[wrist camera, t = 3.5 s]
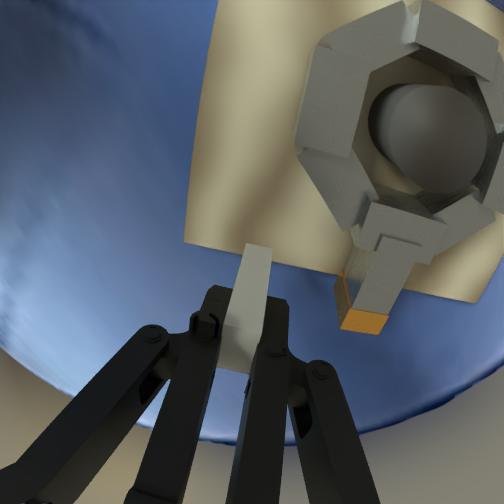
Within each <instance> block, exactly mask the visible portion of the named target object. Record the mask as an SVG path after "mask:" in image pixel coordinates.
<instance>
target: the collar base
mask: <svg viewBox="0 0 504 504" xmlns="http://www.w3.org/2000/svg"><path fill="white" fill-rule="evenodd" d="M399 1H401V0H219V2H218V6H217V11H216V16H215V20H214V25H213V30H212V35H211V40H210V45H209V51H208V56H207V62H206V67H205V73H204V79H203V85H202V91H201V97H200V104H199V110H198V117H197V124H196V131H195V138H194V146H193V154H192V162H191V171H190V179H189V189H188V198H187V208H186V219H185V231H184V242H185V243H190V244H194V245H199V246H203V247H208V248H213V249H217V250H222V251H227V252H231V253H236V254H241V255H243V253H244V250H245V246H246V243H249V244H253V245H258V246H262V247H267V248H272V249H273V253H272V261H273V262H278V263H283V264H288V265H292V266H297V267H302V268H306V269H311V270H316V271H321V272H325V273H330V274H335V275H339V273H340V270H341V269H343V267H344V264H345V262H346V259H347V257H348V254H349V251H350V249H351V246H352V243H353V239H352V236H351V233H350V230H349V229H347V230H345V231H343V232H342V230H341V228H340V227H339V225H338V223H337V221H336V220H335V218H334V216H333V215H332V213H331V211H330V210H329V208H328V206H327V205H326V203H325V201H324V200H323V198H322V196H321V195H320V193H319V191H318V190H317V188H316V187H315V185H314V183H313V182H312V180H311V179H310V177H309V175H308V174H307V172H306V171H305V169H304V168H303V166H302V165H301V163H300V161H299V160H298V158H297V157H296V151H295V144H293V133H292V132H293V127H294V123H295V118H296V114H297V109H298V105H299V100H300V95H301V91H302V86H303V82H304V77H305V73H306V68H307V63H308V59H309V54H310V52H311V51H312V49H313V48H314V46H315V45H317V43H318V42H319V41H320V39H321V38H322V36H324V35H325V34H327V33H329V32H331V31H333V30H335V29H337V28H339V27H341V26H343V25H346V24H348V23H350V22H352V21H354V20H356V19H358V18H360V17H363V16H365V15H367V14H369V13H372V12H374V11H376V10H379V9H381V8H384V7H386V6H388V5H391V4H393V3H396V2H399ZM415 1H417V0H403V2H404V3H405V5H406V6H408V5H410V4H411V3H413V2H415ZM428 1H431V2H433V3H435V4H437V5H439V6H441V7H443V8H445V9H447V10H449V11H451V12H452V13H454V14H456V15H458V16H460V17H462V18H463V19H465V20H467V21H469V22H470V23H472V24H474V25H475V26H477V27H479V28H480V29H482V30H483V31H485V32H487V33H488V34H490V35H491V36H493V37H494V38H496V39H497V40H499V47H498V52H500V54H501V56H502V58H503V61H504V13H503V12H502V11H500V10H499V9H498V8H496V7H495V6H493V5H492V4H490V3H489V2H487V1H486V0H428ZM317 46H318V45H317ZM486 146H487V137H486V129H485V125H484V122H483V119H482V117H481V114H480V112H479V111H478V109H477V107H476V106H475V105H474V103H473V102H472V101H471V100H470V99H469V98H468V97H467V96H465V95H464V94H463V93H461V92H459V91H458V90H456V88H455V86H454V84H453V82H452V80H451V78H450V75H448V74H446V73H444V72H442V71H440V70H438V69H436V68H434V67H432V66H430V65H427V64H425V63H423V62H421V61H418V60H416V59H414V58H411V57H409V56H406V55H405V56H403V57H401V58H399V59H397V60H395V61H393V62H391V63H389V64H386V65H384V66H382V67H380V68H378V69H376V70H374V71H372V72H370V74H369V78H368V83H367V87H366V91H365V95H364V99H363V104H362V108H361V112H360V115H359V119H358V123H357V127H356V131H355V135H354V138H353V142H352V146H351V147H352V148H353V150H354V152H355V154H356V155H357V157H358V159H359V161H360V163H361V164H362V166H363V168H364V170H365V172H366V174H367V176H368V178H369V179H370V181H371V182H372V183H375V184H379V185H382V186H385V187H389V188H392V189H395V190H398V191H402V192H405V193H408V194H411V195H416V194H418V193H420V192H422V191H423V190H427V191H430V192H434V193H448V192H453V191H456V190H458V189H460V188H462V187H464V186H465V185H467V184H468V183H469V182H470V181H471V180H472V179H473V178H474V177H475V176H476V174H477V173H478V171H479V169H480V167H481V166H482V163H483V160H484V157H485V153H486ZM494 214H495V219H496V221H494V222H492V223H491V224H489V225H487V226H486V227H484V228H483V229H481V230H479V231H478V232H476V233H474V234H473V235H471V236H469V237H467V238H466V239H464V240H462V241H461V242H459V243H457V244H455V245H454V246H452V247H450V248H448V249H447V250H445V251H443V252H441V253H439V254H438V255H436V256H435V254H434V256H433V258H432V260H431V262H430V265H428V264H424V263H420V262H416V261H415V263H414V265H413V267H412V269H411V271H410V273H409V275H408V277H407V279H406V281H405V283H404V285H403V287H402V289H407V290H411V291H416V292H421V293H426V294H431V295H436V296H441V297H445V298H450V299H455V300H460V301H465V302H470V303H475V304H476V302H477V301H478V299H479V297H480V296H481V294H482V292H483V291H484V289H485V287H486V286H487V284H488V282H489V280H490V279H491V277H492V275H493V273H494V271H495V269H496V268H497V266H498V264H499V262H500V260H501V258H502V256H503V254H504V214H501V213H499V212H497V211H495V210H494Z"/></svg>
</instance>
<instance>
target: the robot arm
mask: <svg viewBox="0 0 504 504" xmlns="http://www.w3.org/2000/svg"><path fill="white" fill-rule="evenodd" d="M272 253H273V249H272V248H267V247H262V246H258V245H253V244H249V243H246V246H245V250H244V253H243V257H242V260H241V264H240V267H239V271H238V274H237V278H236V281H235V285H234V288H233V289H231V288H226V287H222V286H218V285H213V286H212V287H211V288H210V289H209V290H208V291H207V293H206V296H205V299H204V301H203V304H202V306H201V309H200V311H197V312H195V313H193V314H192V316H191V317H190V324H189V331H187V332H184V333H179V334H168V332H167V330H166V329H164V328H163V327H162V326H159V325H146V326H143V327H142V328H140V329H139V330H138V331H137V332H136V333H135V334H134V335H133V336H132V337H131V338H130V339H129V340H128V341H127V343H126V344H125V345H124V346H123V347H122V348H121V349H120V350H119V351H118V352H117V353H116V354H115V355H114V356H113V357H112V358H111V359H110V360H109V361H108V362H107V363H106V364H105V366H104V367H103V368H102V369H101V370H100V371H99V372H98V373H97V374H96V375H95V376H94V377H93V378H92V379H91V380H90V381H89V382H88V384H87V385H86V386H85V387H84V388H83V389H82V390H81V391H80V392H79V393H78V394H77V395H76V396H75V397H74V399H73V400H72V401H71V402H70V403H69V404H68V405H67V406H66V407H65V408H64V409H63V410H62V412H61V413H60V414H59V415H58V416H57V417H56V418H55V419H54V420H53V421H52V423H50V425H49V426H48V427H47V428H46V429H45V430H44V431H43V432H42V433H41V435H40V436H39V437H38V438H37V439H36V440H35V441H34V442H33V443H32V445H31V446H30V447H29V448H28V449H27V450H26V451H25V452H24V454H23V455H22V456H21V457H20V458H19V459H18V461H16V463H13V464H11V465H9V466H7V467H5V468H3V469H1V470H0V504H73V503H74V502H75V501H76V500H77V499H78V497H79V496H80V495H81V493H82V492H83V491H84V490H85V488H86V487H87V486H88V485H89V483H90V482H91V481H92V479H93V478H94V477H95V475H96V474H97V473H98V472H99V470H100V469H101V468H102V466H103V465H104V464H105V462H106V461H107V460H108V458H109V457H110V456H111V455H112V453H113V452H114V451H115V449H116V448H117V447H118V445H119V444H120V443H121V441H122V440H123V439H124V437H125V436H126V435H127V434H128V432H129V431H130V430H131V428H132V427H133V426H134V424H135V423H136V422H137V420H138V419H139V418H140V416H141V415H142V414H143V412H144V411H145V410H146V409H147V407H148V406H149V405H150V403H151V402H152V401H153V399H154V398H155V397H156V395H157V394H158V393H159V391H160V390H161V389H162V387H163V386H164V385H165V383H166V382H167V381H168V379H171V381H170V384H169V386H168V389H167V392H166V395H165V397H164V400H163V403H162V406H161V408H160V411H159V414H158V417H157V420H156V422H155V425H154V428H153V431H152V434H151V437H150V439H149V443H148V445H147V448H146V451H145V454H144V457H143V460H142V463H141V466H140V469H139V472H138V474H137V478H136V480H135V483H134V485H133V487H132V488H131V489H130V490H129V491H128V493H127V495H126V498H125V500H124V504H182V502H183V498H184V494H185V490H186V486H187V482H188V478H189V474H190V470H191V466H192V462H193V458H194V454H195V451H196V446H197V443H198V439H199V435H200V431H201V427H202V423H203V419H204V415H205V411H206V407H207V403H208V400H209V396H210V392H211V388H212V384H213V380H214V376H215V370H216V367H219V368H223V369H227V370H232V371H236V372H241V373H246V374H250V375H249V379H248V382H247V386H246V389H245V392H244V393H245V399H244V404H243V410H242V416H241V421H240V427H239V433H238V438H237V444H236V449H235V455H234V461H233V466H232V471H231V476H230V482H229V487H228V493H227V498H226V503H225V504H279V496H280V486H281V476H282V464H283V453H284V441H285V428H286V414H287V404H288V408H289V413H290V417H291V422H292V426H293V431H294V435H295V440H296V444H297V449H298V454H299V458H300V462H301V467H302V472H303V476H304V481H305V485H306V490H307V494H308V499H309V503H310V504H380V501H379V497H378V494H377V491H376V488H375V485H374V481H373V478H372V475H371V472H370V469H369V466H368V463H367V460H366V457H365V454H364V451H363V448H362V445H361V442H360V439H359V436H358V433H357V430H356V427H355V424H354V421H353V418H352V415H351V412H350V409H349V406H348V404H347V401H346V398H345V395H344V392H343V389H342V387H341V384H340V381H339V378H338V376H337V373H336V371H335V369H334V367H333V366H332V365H331V364H329V363H328V362H326V361H323V360H313V361H311V362H309V363H306V362H304V361H301V360H299V359H298V358H296V357H295V356H294V355H292V353H291V352H290V351H289V348H288V327H289V323H288V322H289V306H288V304H287V302H286V300H284V299H280V298H275V297H270V296H267V292H268V284H269V276H270V269H271V261H272Z"/></svg>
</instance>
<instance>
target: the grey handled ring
mask: <svg viewBox="0 0 504 504" xmlns="http://www.w3.org/2000/svg"><path fill="white" fill-rule="evenodd" d="M317 45H318V46H317ZM317 45H315V46H314V48H313V49H312V51H311V52H310V54H309V59H308V63H307V68H306V73H305V77H304V82H303V86H302V91H301V95H300V100H299V105H298V109H297V114H296V118H295V123H294V127H293V132H292V133H293V144H295V151H296V157H297V158H298V160H299V161H300V163H301V165H302V166H303V168H304V169H305V171H306V172H307V174H308V175H309V177H310V179H311V180H312V182H313V183H314V185H315V187H316V188H317V190H318V191H319V193H320V195H321V196H322V198H323V200H324V201H325V203H326V205H327V206H328V208H329V210H330V211H331V213H332V215H333V216H334V218H335V220H336V221H337V223H338V225H339V227H340V228H341V230H342V232H343V231H345V230H347V229H349V230H350V233H351V236H352V239H353V243H352V246H351V249H350V251H349V254H348V257H347V259H346V262H345V264H344V267H343V269H341V270H340V273H339V275H338V278H337V280H336V283H335V285H334V294H335V300H336V306H337V313H338V320H339V327H340V329H343V330H349V331H355V332H362V333H368V334H375V335H379V333H380V331H381V329H382V328H383V326H384V324H385V323H386V321H387V319H388V317H389V312H390V310H391V308H392V306H393V304H394V303H395V301H396V299H397V297H398V295H399V293H400V291H401V289H402V287H403V285H404V283H405V281H406V279H407V277H408V275H409V273H410V271H411V269H412V267H413V265H414V263H415V261H416V262H420V263H424V264H428V265H430V262H431V260H432V258H433V256H434V254H435V256H436V255H438V254H439V253H441V252H443V251H445V250H447V249H448V248H450V247H452V246H454V245H455V244H457V243H459V242H461V241H462V240H464V239H466V238H467V237H469V236H471V235H473V234H474V233H476V232H478V231H479V230H481V229H483V228H484V227H486V226H487V225H489V224H491V223H492V222H494V221H496V219H495V214H494V210H495V211H497V212H499V213H501V214H504V61H503V58H502V56H501V54H500V52H498V47H499V40H497V39H496V38H494V37H493V36H491V35H490V34H488V33H487V32H485V31H483V30H482V29H480V28H479V27H477V26H475V25H474V24H472V23H470V22H469V21H467V20H465V19H463V18H462V17H460V16H458V15H456V14H454V13H452V12H451V11H449V10H447V9H445V8H443V7H441V6H439V5H437V4H435V3H433V2H431V1H428V0H417V1H415V2H413V3H411V4H410V5H408V6H406V5H405V3H404V2H403V0H401V1H399V2H396V3H393V4H391V5H388V6H386V7H384V8H381V9H379V10H376V11H374V12H372V13H369V14H367V15H365V16H363V17H360V18H358V19H356V20H354V21H352V22H350V23H348V24H346V25H343V26H341V27H339V28H337V29H335V30H333V31H331V32H329V33H327V34H325V35H324V36H322V38H321V39H320V41H319V42H318V43H317ZM405 55H406V56H409V57H411V58H414V59H416V60H418V61H421V62H423V63H425V64H427V65H430V66H432V67H434V68H436V69H438V70H440V71H442V72H444V73H446V74H448V75H450V78H451V80H452V82H453V84H454V86H455V88H456V90H458V91H459V92H461V93H463V94H464V95H465V96H467V97H468V98H469V99H470V100H471V101H472V102H473V103H474V105H475V106H476V107H477V109H478V111H479V112H480V114H481V117H482V119H483V122H484V125H485V129H486V137H487V146H486V153H485V157H484V160H483V163H482V166H481V167H480V169H479V171H478V173H477V174H476V176H475V177H474V178H473V179H472V180H471V181H470V182H469V183H468V184H467V185H465V186H464V187H462V188H460V189H458V190H456V191H453V192H448V193H434V192H430V191H427V190H423V191H422V192H420V193H418V194H416V195H411V194H408V193H405V192H402V191H398V190H395V189H392V188H389V187H385V186H382V185H379V184H375V183H372V182H371V181H370V179H369V178H368V176H367V174H366V172H365V170H364V168H363V166H362V164H361V163H360V161H359V159H358V157H357V155H356V154H355V152H354V150H353V148H352V147H351V146H352V142H353V138H354V135H355V131H356V127H357V123H358V119H359V115H360V112H361V108H362V104H363V99H364V95H365V91H366V87H367V83H368V78H369V74H370V72H372V71H374V70H376V69H378V68H380V67H382V66H384V65H386V64H389V63H391V62H393V61H395V60H397V59H399V58H401V57H403V56H405Z"/></svg>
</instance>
